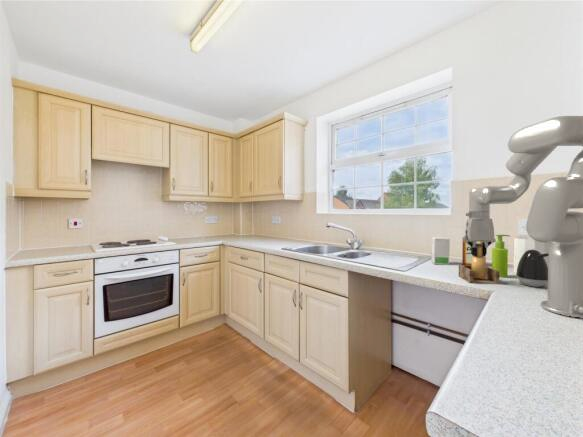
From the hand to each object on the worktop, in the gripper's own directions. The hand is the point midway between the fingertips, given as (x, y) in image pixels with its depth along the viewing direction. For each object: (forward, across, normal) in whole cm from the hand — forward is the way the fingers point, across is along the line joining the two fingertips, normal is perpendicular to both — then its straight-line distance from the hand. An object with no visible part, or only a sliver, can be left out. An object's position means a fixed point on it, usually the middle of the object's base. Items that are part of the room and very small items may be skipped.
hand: (478, 255), depth 116 cm
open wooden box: (+11, 0, 0) cm, 11 cm away
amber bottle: (+10, 0, 0) cm, 10 cm away
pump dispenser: (+12, +18, -5) cm, 22 cm away
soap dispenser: (+12, +14, +10) cm, 21 cm away
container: (+12, +31, +16) cm, 37 cm away
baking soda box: (+12, +13, +35) cm, 39 cm away
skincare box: (+12, -4, +36) cm, 38 cm away
